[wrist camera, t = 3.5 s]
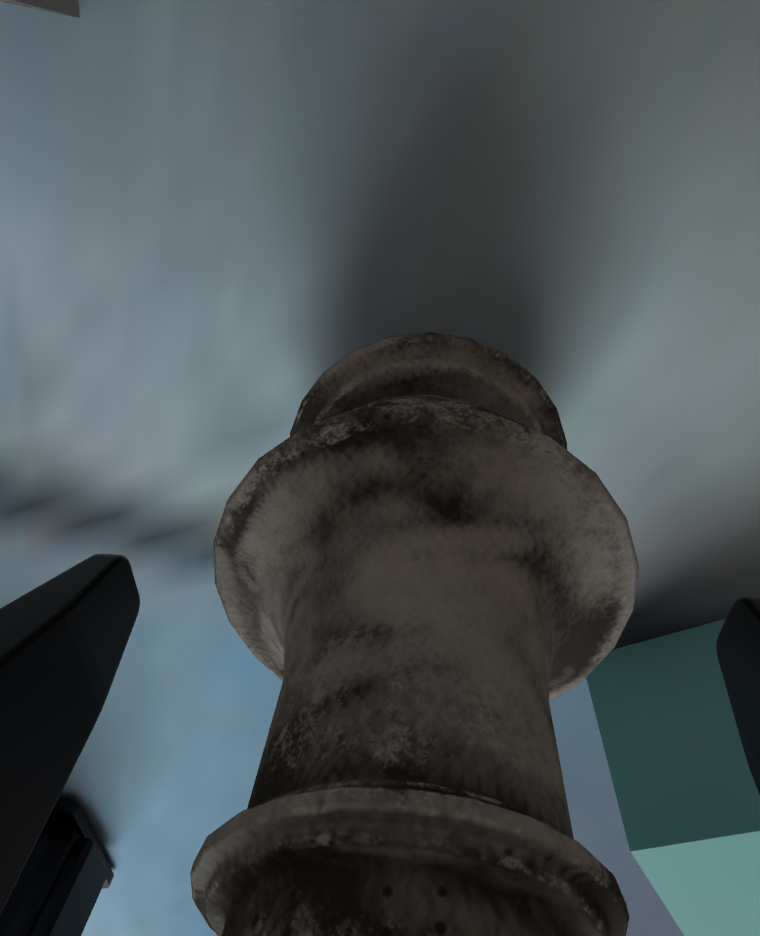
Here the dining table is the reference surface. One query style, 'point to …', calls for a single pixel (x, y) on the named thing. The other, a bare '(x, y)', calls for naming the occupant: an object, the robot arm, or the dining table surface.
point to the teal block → (682, 779)
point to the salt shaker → (417, 656)
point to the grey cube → (51, 5)
